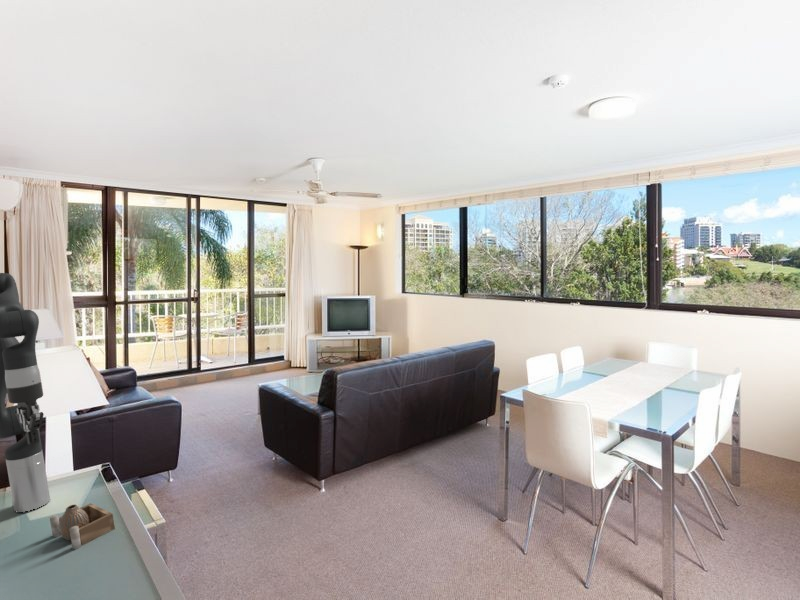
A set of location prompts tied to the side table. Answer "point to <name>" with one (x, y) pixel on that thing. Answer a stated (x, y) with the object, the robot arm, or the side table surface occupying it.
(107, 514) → the housing
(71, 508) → the vase
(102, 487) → the side table surface
